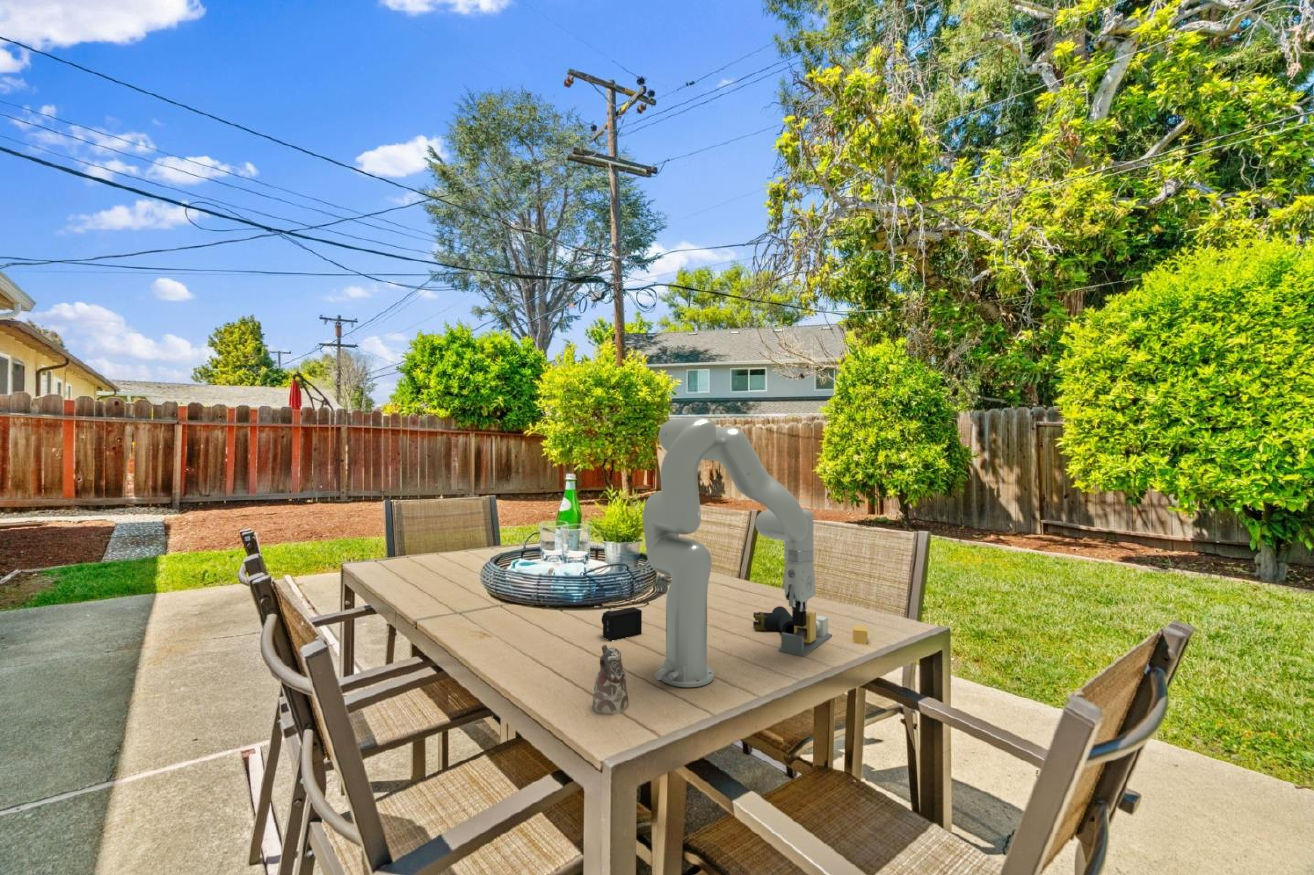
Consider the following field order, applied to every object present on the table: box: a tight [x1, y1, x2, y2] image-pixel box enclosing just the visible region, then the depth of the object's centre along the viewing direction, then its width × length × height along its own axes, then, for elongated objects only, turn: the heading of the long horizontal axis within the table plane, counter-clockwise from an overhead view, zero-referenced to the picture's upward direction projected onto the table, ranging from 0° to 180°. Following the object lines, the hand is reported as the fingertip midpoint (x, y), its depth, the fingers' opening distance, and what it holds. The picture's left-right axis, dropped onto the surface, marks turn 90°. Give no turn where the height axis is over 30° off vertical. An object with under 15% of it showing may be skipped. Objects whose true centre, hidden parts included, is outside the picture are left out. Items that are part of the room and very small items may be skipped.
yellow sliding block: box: [794, 609, 817, 643], centre depth 157 cm, size 4×4×7 cm
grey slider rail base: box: [778, 614, 833, 658], centre depth 158 cm, size 20×7×5 cm, turn 143°
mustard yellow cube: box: [852, 625, 868, 644], centre depth 160 cm, size 4×4×4 cm
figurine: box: [592, 644, 630, 715], centre depth 119 cm, size 7×7×12 cm
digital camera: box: [601, 606, 643, 642], centre depth 164 cm, size 10×5×7 cm, turn 126°
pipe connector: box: [752, 605, 794, 634], centre depth 170 cm, size 12×5×15 cm
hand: (799, 625), depth 154 cm, fingers closed
